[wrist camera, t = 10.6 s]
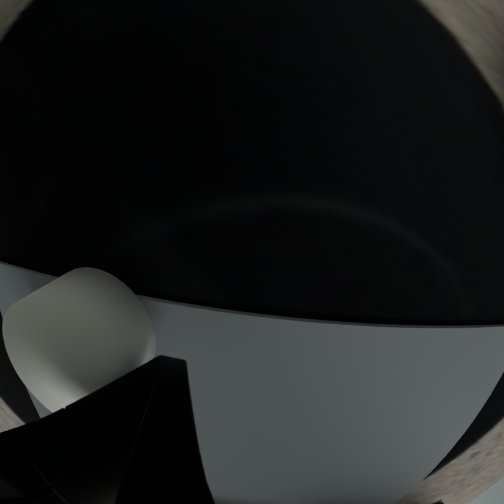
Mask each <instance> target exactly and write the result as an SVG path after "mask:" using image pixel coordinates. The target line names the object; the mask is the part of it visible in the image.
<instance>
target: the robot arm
mask: <svg viewBox="0 0 504 504" xmlns="http://www.w3.org/2000/svg"><path fill="white" fill-rule="evenodd" d="M0 504H216V503H215V501H214V498H213V496H212V493H211V491H210V488H209V485H208V482H207V478H206V475H205V471H204V467H203V462H202V457H201V453H200V447H199V442H198V436H197V430H196V424H195V418H194V412H193V405H192V398H191V391H190V383H189V375H188V367H187V361H186V360H185V359H180V358H173V357H170V356H165V355H158V356H156V357H155V358H153V359H151V360H150V361H148V362H146V363H144V364H143V365H141V366H139V367H137V368H136V369H134V370H132V371H130V372H128V373H127V374H125V375H123V376H121V377H119V378H118V379H116V380H114V381H112V382H110V383H109V384H107V385H105V386H103V387H101V388H99V389H97V390H96V391H94V392H92V393H90V394H88V395H86V396H84V397H82V398H81V399H79V400H77V401H75V402H73V403H71V404H69V405H67V406H66V407H65V408H61V409H59V410H57V411H55V412H53V413H51V414H49V415H47V416H44V417H42V418H40V419H38V420H36V421H33V422H30V423H28V424H25V425H22V426H19V427H16V428H13V429H10V430H7V431H4V432H1V433H0ZM439 504H444V503H443V502H441V503H439Z"/></svg>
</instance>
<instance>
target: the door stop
mask: <svg viewBox="0 0 504 504" xmlns="http://www.w3.org/2000/svg"><path fill="white" fill-rule="evenodd" d="M2 330H3V338H4V343H5V347H6V350H7V353H8V355H9V358H10V360H11V362H12V364H13V367H14V368H15V370H16V372H17V374H18V375H19V377H20V378H21V380H22V381H23V383H24V384H25V385H26V387H27V388H28V389H29V390H30V392H31V393H32V394H33V395H34V396H35V397H36V398H37V399H38V400H39V401H40V402H41V403H42V404H43V405H44V406H45V407H46V408H47V409H49V410H50V411H51V412H52V413H53V412H55V411H57V410H59V409H61V408H65V407H66V406H67V405H69V404H71V403H73V402H75V401H77V400H79V399H81V398H82V397H84V396H86V395H88V394H90V393H92V392H94V391H96V390H97V389H99V388H101V387H103V386H105V385H107V384H109V383H110V382H112V381H114V380H116V379H118V378H119V377H121V376H123V375H125V374H127V373H128V372H130V371H132V370H134V369H136V368H137V367H139V366H141V365H143V364H144V363H146V362H148V361H150V360H151V359H153V358H154V356H155V352H156V335H155V331H154V327H153V324H152V321H151V318H150V316H149V314H148V312H147V310H146V309H145V307H144V306H143V304H142V303H141V301H140V300H139V299H138V297H137V296H136V295H135V294H134V293H133V291H132V290H131V289H130V288H129V287H128V286H126V285H125V284H124V283H123V282H122V281H120V280H119V279H118V278H116V277H115V276H113V275H111V274H109V273H107V272H105V271H103V270H100V269H96V268H90V267H82V268H77V269H74V270H72V271H70V272H68V273H66V274H64V275H62V276H61V277H59V278H57V279H55V280H53V281H52V282H50V283H48V284H46V285H45V286H43V287H41V288H39V289H38V290H36V291H34V292H33V293H31V294H29V295H27V296H26V297H24V298H22V299H21V300H19V301H17V302H16V303H14V304H12V305H11V306H10V307H9V308H8V309H7V311H6V312H5V315H4V318H3V327H2Z"/></svg>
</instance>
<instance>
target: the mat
mask: <svg viewBox="0 0 504 504" xmlns="http://www.w3.org/2000/svg"><path fill="white" fill-rule="evenodd" d="M57 278H59V277H55V276H51V275H47V274H44V273H40V272H36V271H32V270H29V269H25V268H22V267H18V266H15V265H11V264H8V263H5V262H1V261H0V310H1V314H2V318H4V315H5V312H6V311H7V309H8V308H9V307H10V306H11V305H12V304H14V303H16V302H17V301H19V300H21V299H22V298H24V297H26V296H27V295H29V294H31V293H33V292H34V291H36V290H38V289H39V288H41V287H43V286H45V285H46V284H48V283H50V282H52V281H53V280H55V279H57ZM135 295H136V294H135ZM136 296H137V297H138V299H139V300H140V301H141V303H142V304H143V306H144V307H145V309H146V310H147V312H148V314H149V316H150V318H151V321H152V324H153V327H154V331H155V335H156V352H155V356H154V358H155V357H156V356H158V355H165V356H170V357H173V358H180V359H185V360H186V361H187V367H188V375H189V383H190V391H191V398H192V405H193V412H194V418H195V424H196V430H197V436H198V442H199V447H200V453H201V457H202V462H203V467H204V471H205V475H206V478H207V482H208V485H209V488H210V491H211V493H212V496H213V498H214V501H215V503H216V504H397V503H398V502H399V501H400V500H402V499H403V498H404V497H405V496H406V495H407V494H408V493H409V492H411V491H412V490H413V489H414V488H415V487H416V486H417V485H418V484H419V483H420V482H421V481H422V480H423V479H424V478H425V477H426V476H427V475H428V474H429V473H430V472H431V471H432V470H433V469H434V468H435V467H436V466H437V465H438V463H439V462H440V461H441V460H442V459H443V458H444V457H445V456H446V454H447V453H448V452H449V451H450V450H451V449H452V447H453V446H454V445H455V444H456V443H457V441H458V440H459V439H460V437H461V436H462V435H463V434H464V432H465V431H466V430H467V428H468V427H469V426H470V424H471V423H472V421H473V420H474V419H475V417H476V416H477V414H478V413H479V411H480V410H481V408H482V407H483V405H484V404H485V402H486V401H487V399H488V398H489V396H490V394H491V393H492V391H493V389H494V388H495V386H496V384H497V382H498V381H499V379H500V377H501V375H502V373H503V372H504V324H502V325H471V326H423V325H390V324H369V323H353V322H338V321H325V320H314V319H303V318H293V317H283V316H274V315H265V314H257V313H249V312H241V311H233V310H226V309H219V308H212V307H206V306H199V305H193V304H186V303H180V302H174V301H169V300H163V299H157V298H152V297H147V296H141V295H136ZM26 388H27V387H26ZM27 390H28V392H29V395H30V397H31V399H32V401H33V403H34V405H35V407H36V409H37V411H38V413H39V415H40V417H41V418H42V417H44V416H47V415H49V414H51V413H52V412H51V411H50V410H49V409H47V408H46V407H45V406H44V405H43V404H42V403H41V402H40V401H39V400H38V399H37V398H36V397H35V396H34V395H33V394H32V393H31V392H30V390H29V389H28V388H27Z"/></svg>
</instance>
